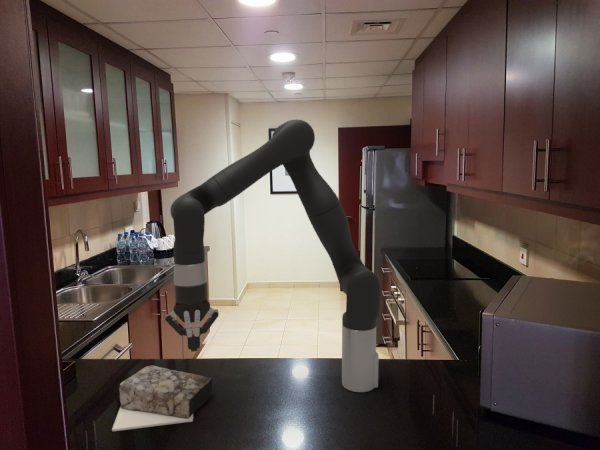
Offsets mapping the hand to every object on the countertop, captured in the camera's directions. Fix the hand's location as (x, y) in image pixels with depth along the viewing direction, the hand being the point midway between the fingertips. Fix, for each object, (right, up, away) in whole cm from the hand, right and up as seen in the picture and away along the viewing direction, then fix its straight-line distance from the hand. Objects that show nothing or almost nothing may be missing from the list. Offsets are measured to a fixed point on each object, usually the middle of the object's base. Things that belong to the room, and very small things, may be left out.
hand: (194, 350), depth 104 cm
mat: (-10, -16, +2) cm, 19 cm away
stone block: (+1, -13, +4) cm, 13 cm away
